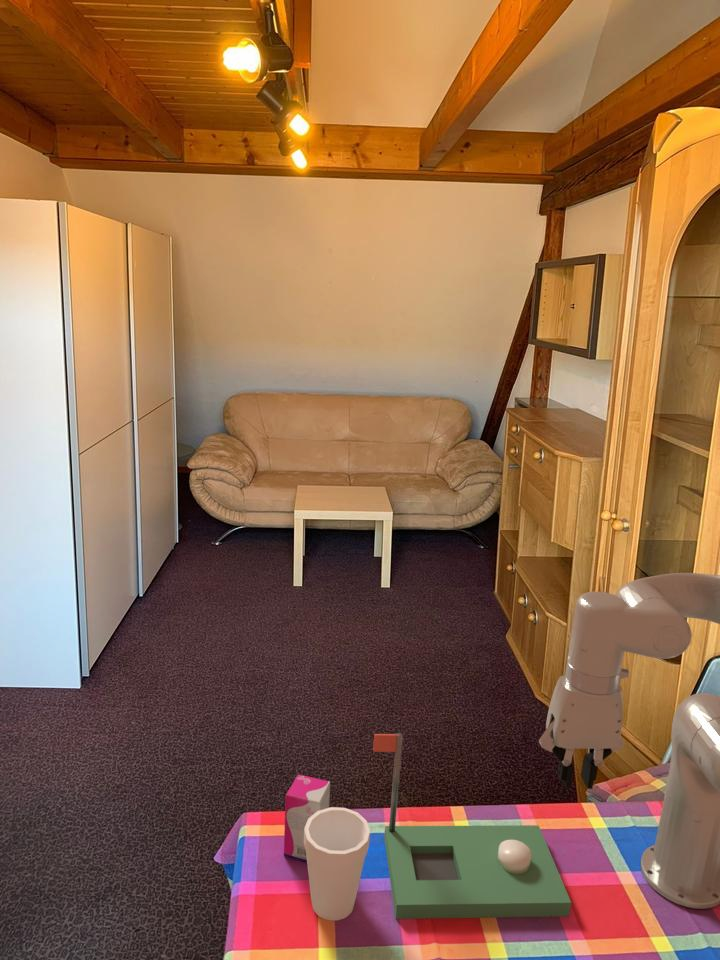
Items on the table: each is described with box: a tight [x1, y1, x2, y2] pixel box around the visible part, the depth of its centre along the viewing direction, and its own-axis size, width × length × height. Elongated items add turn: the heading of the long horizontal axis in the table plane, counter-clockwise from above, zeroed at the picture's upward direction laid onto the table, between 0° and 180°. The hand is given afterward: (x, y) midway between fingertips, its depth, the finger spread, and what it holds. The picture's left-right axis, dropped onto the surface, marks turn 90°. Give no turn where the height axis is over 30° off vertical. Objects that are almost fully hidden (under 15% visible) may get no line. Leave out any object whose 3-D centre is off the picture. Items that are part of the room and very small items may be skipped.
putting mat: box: [372, 732, 572, 920], centre depth 115 cm, size 29×16×20 cm, turn 94°
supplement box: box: [283, 774, 331, 863], centre depth 120 cm, size 6×6×12 cm
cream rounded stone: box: [498, 840, 531, 874], centre depth 118 cm, size 5×5×2 cm
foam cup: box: [304, 806, 371, 922], centre depth 110 cm, size 10×9×13 cm
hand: (575, 782), depth 115 cm, fingers open, 2 cm apart
